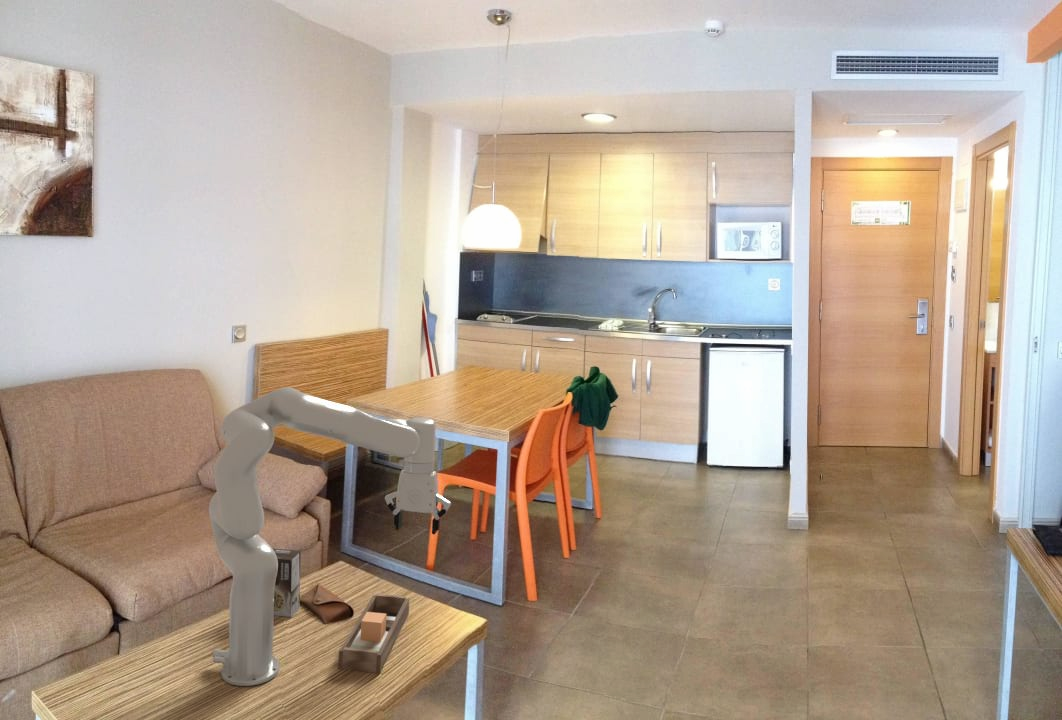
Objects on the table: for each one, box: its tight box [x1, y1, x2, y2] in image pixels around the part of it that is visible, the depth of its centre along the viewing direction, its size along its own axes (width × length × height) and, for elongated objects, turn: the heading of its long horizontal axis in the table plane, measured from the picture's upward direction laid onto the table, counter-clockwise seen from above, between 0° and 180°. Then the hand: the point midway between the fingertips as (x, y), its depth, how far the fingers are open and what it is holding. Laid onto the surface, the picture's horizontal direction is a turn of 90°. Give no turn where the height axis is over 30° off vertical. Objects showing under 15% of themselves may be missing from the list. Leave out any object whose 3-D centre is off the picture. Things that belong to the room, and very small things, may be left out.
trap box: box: [338, 593, 410, 674], centre depth 201 cm, size 10×30×5 cm, turn 176°
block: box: [361, 612, 386, 642], centre depth 197 cm, size 5×5×5 cm
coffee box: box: [272, 547, 302, 618], centre depth 211 cm, size 9×6×16 cm
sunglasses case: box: [300, 582, 355, 625], centre depth 216 cm, size 18×7×7 cm, turn 45°
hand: (416, 530), depth 205 cm, fingers open, 9 cm apart
